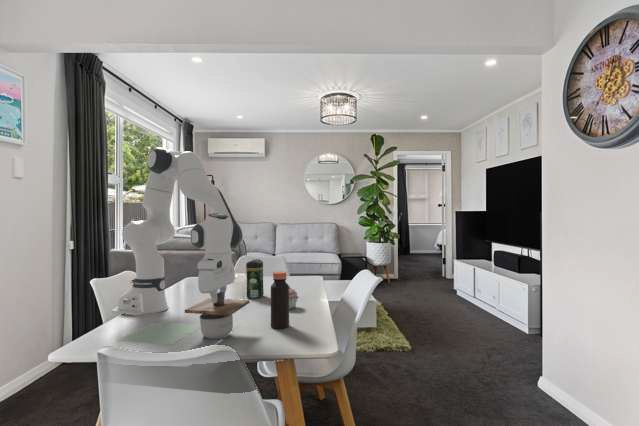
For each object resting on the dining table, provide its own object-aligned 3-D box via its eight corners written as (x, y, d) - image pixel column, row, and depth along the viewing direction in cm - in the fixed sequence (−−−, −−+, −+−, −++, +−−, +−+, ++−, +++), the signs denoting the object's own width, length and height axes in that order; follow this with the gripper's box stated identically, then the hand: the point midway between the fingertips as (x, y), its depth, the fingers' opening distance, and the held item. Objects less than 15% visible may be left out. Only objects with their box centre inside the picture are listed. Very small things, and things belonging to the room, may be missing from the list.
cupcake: (299, 310, 157) (299, 287, 156) (277, 310, 156) (277, 287, 156) (298, 304, 166) (298, 282, 166) (278, 305, 165) (278, 283, 165)
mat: (116, 342, 119) (116, 340, 119) (154, 323, 138) (154, 322, 138) (171, 346, 115) (171, 344, 115) (203, 326, 135) (203, 325, 135)
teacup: (223, 343, 117) (223, 318, 117) (193, 341, 119) (193, 317, 119) (241, 330, 131) (241, 307, 131) (213, 328, 133) (213, 306, 133)
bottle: (284, 330, 130) (284, 274, 130) (267, 328, 132) (267, 273, 132) (292, 324, 137) (291, 271, 136) (275, 322, 139) (275, 270, 139)
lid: (184, 312, 119) (184, 297, 119) (208, 301, 134) (208, 287, 134) (230, 315, 116) (230, 299, 116) (249, 302, 131) (249, 289, 131)
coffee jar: (249, 294, 187) (249, 258, 187) (265, 294, 186) (264, 258, 186) (244, 299, 177) (244, 261, 177) (260, 299, 176) (260, 261, 176)
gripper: (223, 256, 136) (223, 293, 136) (194, 264, 116) (194, 308, 116) (239, 257, 135) (239, 294, 135) (213, 265, 115) (213, 308, 115)
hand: (218, 300), depth 125 cm, fingers closed on lid, 3 cm apart
